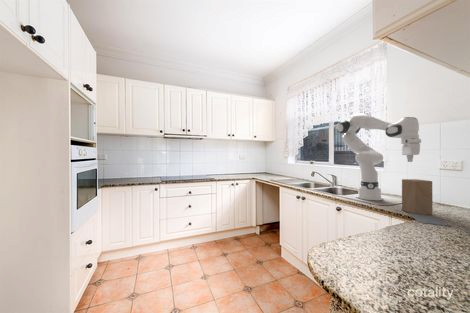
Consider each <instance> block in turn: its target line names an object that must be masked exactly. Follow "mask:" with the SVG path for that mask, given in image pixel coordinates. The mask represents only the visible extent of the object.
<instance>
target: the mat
mask: <svg viewBox="0 0 470 313" xmlns="http://www.w3.org/2000/svg"><path fill="white" fill-rule="evenodd" d="M407 215H408V216H410V217H411V218H413V219H414V220H416V222H418V223H421V224H427V225H436V226H445V227H453V225H452V224H450V223H449V222H447V221H444V220H443V219H441V218H440V217H437V216H435V215H419V214H412V213H409V212H407Z"/></svg>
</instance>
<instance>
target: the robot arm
mask: <svg viewBox="0 0 470 313" xmlns="http://www.w3.org/2000/svg"><path fill="white" fill-rule="evenodd" d="M419 123H420V122H419V119H418V118H417V117H414V116H405V117H402V118H401V119H400V120H399V121H396V122H394V123H392V122H388V121H384V120H381V119H379V118H376V117H374V116H372V115H369V114H367V113H366V114H365V113H354V114H352V116H350V119H348V120H344V121H340V122H339V123H337V125H336V130H337V133H339V134H343V135H342V141H343V142H344V144H346V146H347V147H348V148H349V149H350V150H351V151H352V153H354V154H355V159H354V160H355V162H356V163H357V164H358V165H359V169H360V174H361V179H360V180H361V181H360V186H359V188H357V193H358V194H356V197H355V198H356V199H361V200H365V201H366V200H367V201H384V200H385V199H384V198H383V197H382V191H381V190H382V189H381V188H380V187H379V180H378V179H379V176H378V174H379V173H378V171H377V170H376V168H375V167H376V166H375V165H378V164H382V162H383V161H384V155H383V154H382V153H380V152H379V151H377V150H375V149H373V147H371V146H369V145H368V144H366V143H365V142H364V141H363V140H362V139H361V138H360V137H359V136H357V135H356V134H358V133H360V131H361V130H362V129H365V130H377V131H378V130H381V131H385V135H386V136H387V137H389V138H396V139H400V144H401V145H402V148H401V155H402V156H406V160H407V163H413V160H414V156H418V155H420V151H421V144H422V139H420V135H419V131H420V125H419Z"/></svg>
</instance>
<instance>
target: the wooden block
mask: <svg viewBox="0 0 470 313" xmlns="http://www.w3.org/2000/svg"><path fill="white" fill-rule="evenodd" d="M401 211H402V212H406V213H410V214H419V215H429V216H433V212H434V210H433V181H432V180H428V179H427V180H425V179H418V178H417V179H416V178H413V179H412V178H411V179H410V178H406V179H405V178H402V179H401Z"/></svg>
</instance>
